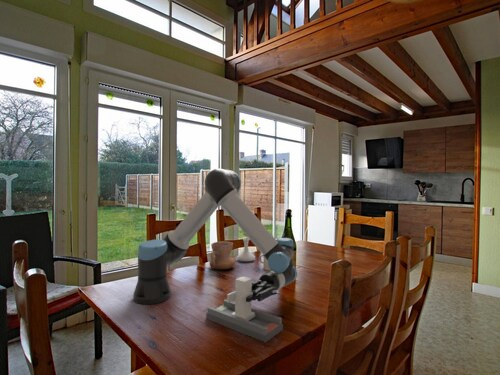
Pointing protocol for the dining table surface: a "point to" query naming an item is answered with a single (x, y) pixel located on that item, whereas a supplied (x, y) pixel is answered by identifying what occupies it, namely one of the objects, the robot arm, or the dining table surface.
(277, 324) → the switch base
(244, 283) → the switch lever
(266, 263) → the beige enamel mug
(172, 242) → the robot arm
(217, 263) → the ceramic jug
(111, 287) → the dining table surface
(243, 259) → the flower in vase
